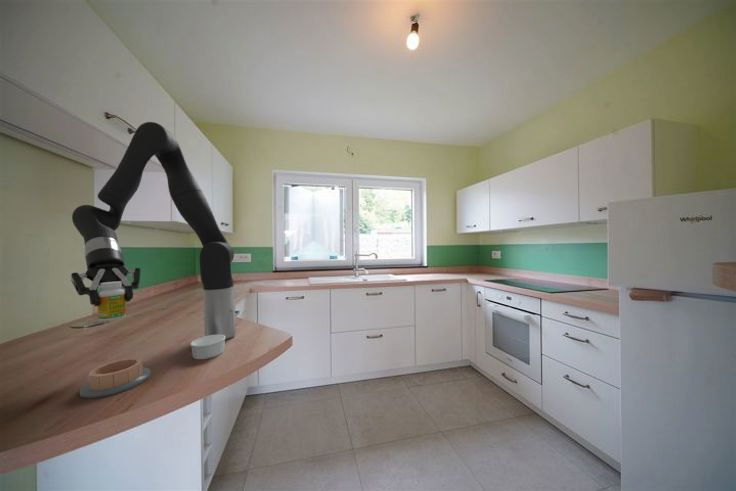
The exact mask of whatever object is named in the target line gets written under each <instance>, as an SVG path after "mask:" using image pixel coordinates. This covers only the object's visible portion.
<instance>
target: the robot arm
mask: <svg viewBox="0 0 736 491" xmlns="http://www.w3.org/2000/svg"><path fill="white" fill-rule="evenodd" d="M154 156H155V158H156V159H157V161H158V162H159V164H160V166H161V167H162V168H163V171H164V172H165V175H166V178H167V186H168V192H169V196H170V197H171V199H172V202H173V203H174V205H175V208H176V209H177V210H178V212H179V214H180V216H181V217H182V218H183V220H184V221H185V223H187V224H188V225H189V227H190V228H191V229H192V230H193V231H194V232H195V234H196V236H197V237H198V239H199V241H200V243H201V245H202V248H201V250H200V253H199V272H200V280H201V283H202V289H203V290H202V291H203V292H202V293H203V320H204V337H205V336H209V335H224V336H225V340H227V339H230V338H235V336H236V331H237V327H236V326H237V322H236V321H237V320H236V306H235V298H234V297H235V292H234V290H235V288H234V278H233V276H232V269H231V268H232V265H231V264H232V262H233V260H234V257H235V252H234V249H233V248H232V246H231V245H230V243H229V241H228V240H227V238H226V237H225V235H224V234H223V233H222V231H221V229H220V227H219V224H218V223H217V221H216V218H215V215H214V214H213V211H212V209H211V207H210V204H209V202H208V201H207V198H206V196H205V194H204V193H203V190H202V189H201V186H200V184H198V181H197V179H196V178H195V176H194V174H193V173H192V172H191V170H190V167H189V165H188V164H187V161H186V159H185V156H184V154H183V150H182V148H181V145H180V143H179V141H178V139H177V137H176V136H175V135H174V134H173V133H172V132H171V131H170V130H168V129H166V128H165V127H164V126H163V125H161V124H160V123H158V122H154V121H146V122H144V123H141V124H140V125H139V126H138V127H137V128H136V130H135V132H134V134H133V136H132V137H131V140H130V142H129V145H128V146H127V148H126V151H125V153H124V154H123V156H122V158H121V160H120V162H119V164H118V166H117V167H116V169H115V171H114V172H113V173H112V175H111V176H110V178H109V179H108V180H107V181H106V182H105V184H104V186H102V188H101V189H100V190H99V192H98V193H97V199H98V200H99V201H101V202H102V203H104V204H106V205H107V206H109V210H105V209H103V208H100V207H97V206H94V205H91V204H83V205H82V204H81V205H78V207H76V208H75V209H74V210H73V212H72V215H71V220H72V223H73V225H74V228H76V230H77V231H78V233H79V234H80V235H81V236H82V238H83V240H84V259H85V263H86V271H85V272H83V273H78V272H72V273H71V275H70V276H71V280H70V281H71V283H72V285H73V287H74V289H75V291H76V293H77V294H78V295H79V296H84V295H86V296H88V297H89V303H90V305H91V306H93V305H94V307H98V306H99V298H98V293H99V289H101V283H105V282H115V281H121V283H122V287H121V289H124V290H125V292H126V303H127V302H131V300H132V299H133V298H134V291H133V290H137V289H138V288H139V286H140V281H141V280H140V279H141V268H140V267H136V268H135V269H128V267H126V266H125V261H124V260H125V259H124V257H123V252H122V249H121V246H120V245H119V240H118V236H117V233H116V231H117V229H118V228H119V227H120V224H121V222H122V217H123V213H124V212H125V209H126V207H127V205H128V203H129V202H130V200H131V199H133V197H134V195H135V194H136V193H137V191H138V189H139V187H140V184H141V181H142V176H143V173H144V170H145V167H146V166H147V164H148V162H150V160H151V159H152V157H154ZM128 275H129V276H130V277H131V278H133V280H132V282H131V281H129V280H128V278H127V276H128ZM85 279H88V280H90V281H91V284H90V286H89V287H87V286H86V285H85V284H84V281H85Z"/></svg>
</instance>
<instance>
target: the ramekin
mask: <svg viewBox="0 0 736 491" xmlns="http://www.w3.org/2000/svg"><path fill="white" fill-rule="evenodd" d="M225 340H226V339H225V336H224V335H209V336H205V335H204V336H200V337H198V338H196V339H193V341H191V342H190V344H189V345H190V347H191V353H192V357H193V359H195V360H207V359H208V360H209V359H212V358H215V357H217V356H220V355H221V354H223V353H224V351H225V342H226V341H225Z"/></svg>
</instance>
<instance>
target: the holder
mask: <svg viewBox="0 0 736 491" xmlns="http://www.w3.org/2000/svg"><path fill="white" fill-rule="evenodd" d="M150 377H151V368H149V367H146V366H144V360H143V359H142V358H141V357H130V358H129V357H127V358H123V359H118V360H115V361H111V362H107V363H104V364H101V365H99V366H97V367H95V368H93V369H92V370H91V371H89V372H88V381H87V382H86V383H84V384H83V385H82V386H81V387H80V388H79V397H81V398H82V397H83V398H82V399H100V398H104V397H109V396H113V395H116V394H120V393H123V392H126V391H128V390H131V389H133V388H135V387H137V386H139V385H141V384H143V383H144V382H146V381H147V380H148V379H150Z"/></svg>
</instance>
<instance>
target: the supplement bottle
mask: <svg viewBox="0 0 736 491" xmlns="http://www.w3.org/2000/svg"><path fill="white" fill-rule="evenodd" d="M100 289H101V291H98V298H99V306H97V312H98V313H97V317H98V321H99V322H110V321H115V320H116V321H117V320H121V319H124V318H126V317H127V302H126V292H125V290H124V289H123V288H122V283H121V281H115V282H105V283H101V286H100Z"/></svg>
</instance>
